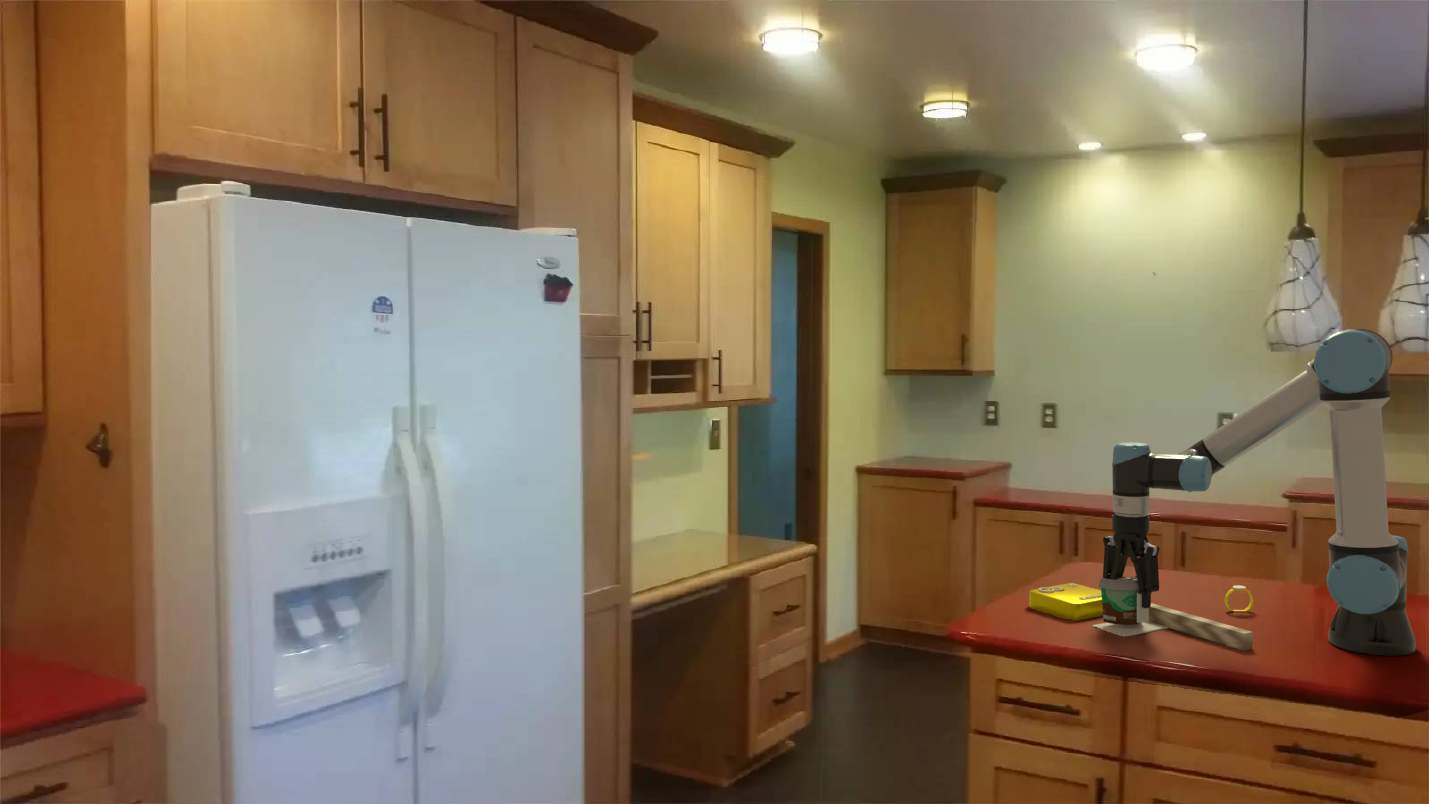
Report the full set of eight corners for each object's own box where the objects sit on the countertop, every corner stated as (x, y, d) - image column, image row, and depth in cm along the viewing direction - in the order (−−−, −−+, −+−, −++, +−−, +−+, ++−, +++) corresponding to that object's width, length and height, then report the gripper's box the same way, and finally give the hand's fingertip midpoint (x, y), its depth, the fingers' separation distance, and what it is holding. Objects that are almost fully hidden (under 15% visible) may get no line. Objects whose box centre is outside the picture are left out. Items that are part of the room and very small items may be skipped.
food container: (1119, 629, 228) (1119, 583, 227) (1098, 622, 233) (1098, 577, 233) (1162, 621, 233) (1162, 576, 232) (1140, 615, 238) (1140, 571, 238)
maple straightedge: (1252, 648, 217) (1252, 631, 216) (1242, 650, 215) (1242, 634, 215) (1136, 614, 244) (1136, 599, 243) (1126, 615, 242) (1126, 600, 242)
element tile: (1073, 623, 239) (1073, 602, 239) (1025, 608, 252) (1025, 588, 252) (1120, 613, 246) (1120, 593, 246) (1071, 599, 259) (1071, 580, 259)
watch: (1228, 614, 243) (1226, 589, 242) (1223, 611, 246) (1222, 586, 245) (1255, 613, 242) (1254, 587, 242) (1251, 609, 245) (1249, 584, 245)
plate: (1167, 628, 232) (1167, 627, 232) (1123, 637, 226) (1123, 635, 226) (1135, 618, 240) (1135, 617, 240) (1092, 626, 235) (1092, 625, 235)
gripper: (1085, 509, 238) (1084, 610, 240) (1153, 522, 221) (1152, 631, 223) (1109, 505, 242) (1109, 605, 243) (1179, 518, 224) (1178, 626, 226)
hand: (1130, 617), depth 233 cm, fingers closed on food container, 6 cm apart
